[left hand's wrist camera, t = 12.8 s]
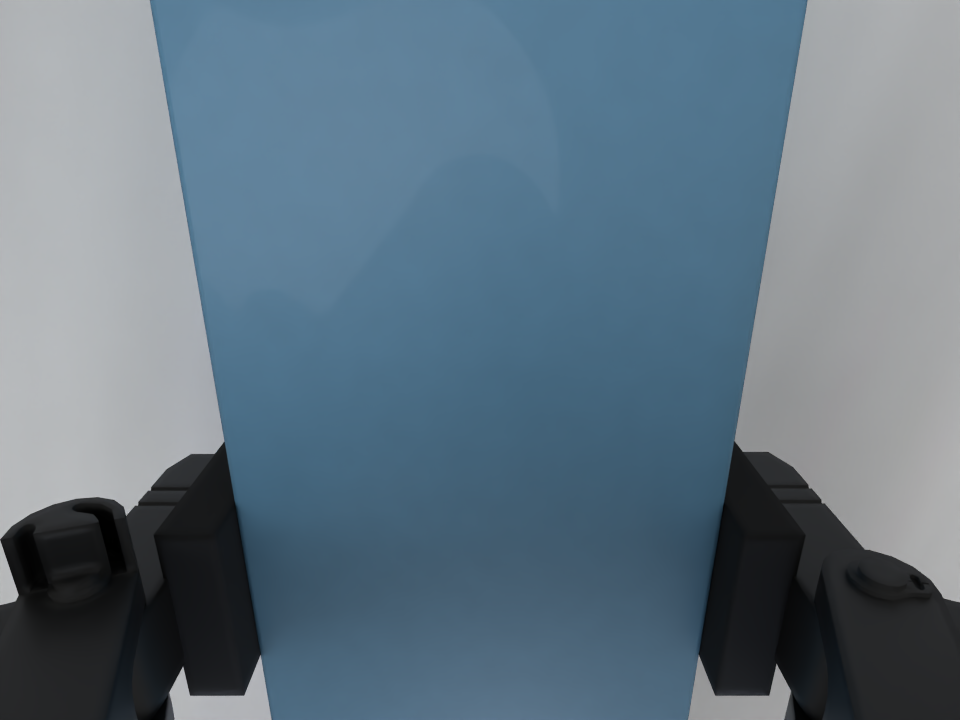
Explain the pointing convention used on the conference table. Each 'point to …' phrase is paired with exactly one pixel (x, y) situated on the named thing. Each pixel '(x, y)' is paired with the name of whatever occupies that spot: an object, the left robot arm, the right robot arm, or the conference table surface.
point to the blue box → (479, 332)
